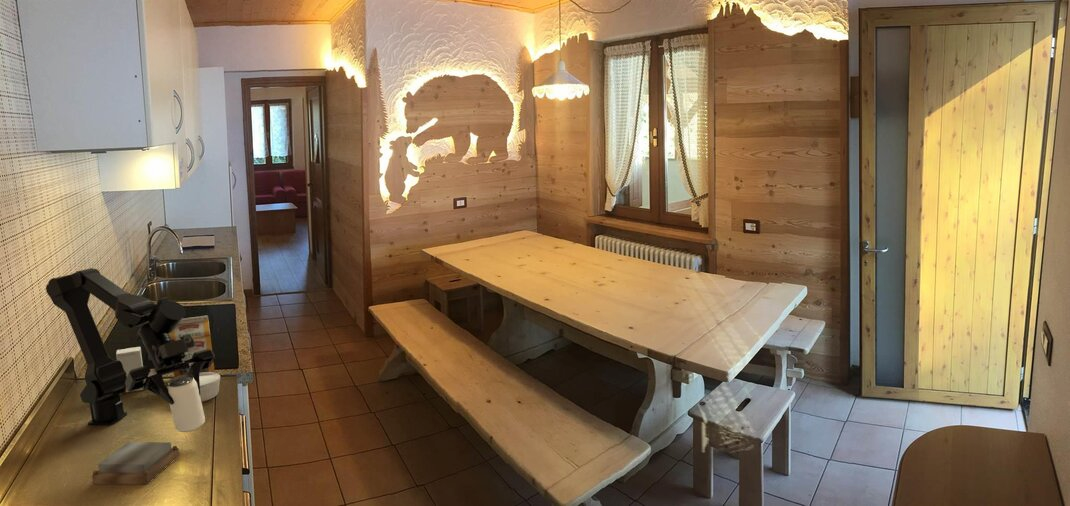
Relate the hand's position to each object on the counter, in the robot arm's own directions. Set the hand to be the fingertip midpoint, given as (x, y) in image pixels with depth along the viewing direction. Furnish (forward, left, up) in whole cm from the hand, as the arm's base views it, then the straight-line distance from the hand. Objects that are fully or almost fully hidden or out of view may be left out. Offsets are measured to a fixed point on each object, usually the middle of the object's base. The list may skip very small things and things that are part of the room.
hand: (186, 399), depth 156 cm
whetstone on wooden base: (-7, -10, -12) cm, 17 cm away
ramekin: (-14, +30, -13) cm, 36 cm away
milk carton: (-23, +43, -12) cm, 50 cm away
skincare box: (-37, +35, -12) cm, 52 cm away
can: (-1, +2, -8) cm, 8 cm away
